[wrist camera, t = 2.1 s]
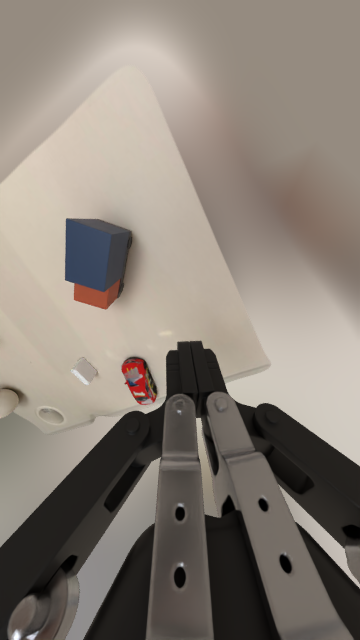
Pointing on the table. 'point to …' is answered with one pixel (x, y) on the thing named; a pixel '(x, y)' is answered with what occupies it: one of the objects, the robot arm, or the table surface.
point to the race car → (139, 381)
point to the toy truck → (96, 260)
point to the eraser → (84, 371)
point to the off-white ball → (7, 402)
